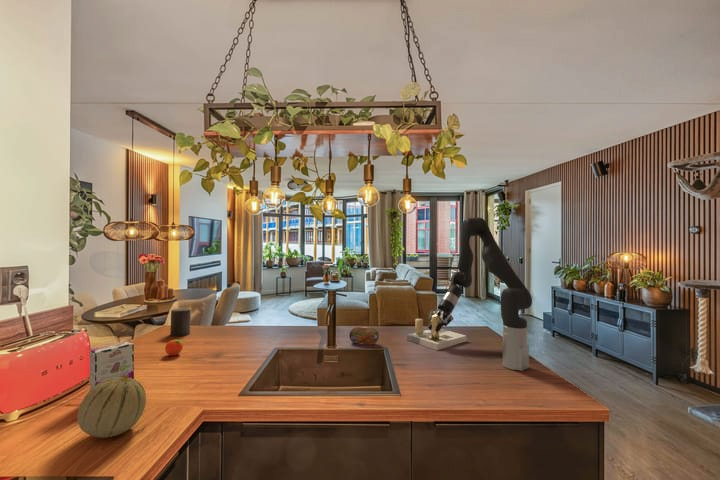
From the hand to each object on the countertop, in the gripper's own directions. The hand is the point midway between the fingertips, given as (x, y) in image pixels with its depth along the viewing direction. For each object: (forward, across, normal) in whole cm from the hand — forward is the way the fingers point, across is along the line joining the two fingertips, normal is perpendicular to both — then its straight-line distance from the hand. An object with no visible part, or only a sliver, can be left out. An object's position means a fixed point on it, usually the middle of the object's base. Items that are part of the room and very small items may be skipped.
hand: (432, 329), depth 164 cm
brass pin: (+2, 0, +5) cm, 6 cm away
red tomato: (+80, -61, -68) cm, 122 cm away
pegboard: (0, -5, +12) cm, 13 cm away
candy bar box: (+96, -30, -85) cm, 132 cm away
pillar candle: (+75, -97, -62) cm, 137 cm away
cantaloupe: (+96, -3, -85) cm, 128 cm away
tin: (+24, -24, -12) cm, 36 cm away
